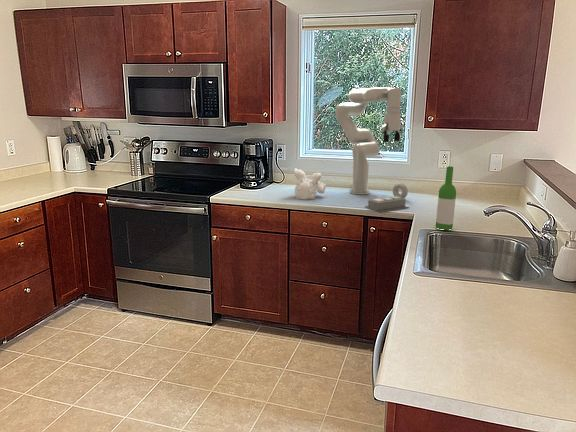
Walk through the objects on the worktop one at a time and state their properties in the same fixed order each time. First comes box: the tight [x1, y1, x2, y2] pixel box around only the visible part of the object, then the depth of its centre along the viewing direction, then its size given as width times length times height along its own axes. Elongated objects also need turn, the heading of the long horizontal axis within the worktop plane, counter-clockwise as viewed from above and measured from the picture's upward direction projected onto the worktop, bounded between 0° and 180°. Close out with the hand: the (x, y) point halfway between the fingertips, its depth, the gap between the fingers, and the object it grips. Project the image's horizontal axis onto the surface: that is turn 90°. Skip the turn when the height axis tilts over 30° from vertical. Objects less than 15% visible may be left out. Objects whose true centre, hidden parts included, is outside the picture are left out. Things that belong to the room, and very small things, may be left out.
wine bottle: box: [435, 165, 457, 230], centre depth 226 cm, size 8×8×30 cm
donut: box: [392, 182, 409, 199], centre depth 289 cm, size 10×4×10 cm, turn 43°
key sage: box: [389, 195, 401, 200], centre depth 272 cm, size 4×4×3 cm
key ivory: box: [372, 198, 384, 203], centre depth 266 cm, size 4×4×3 cm
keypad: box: [363, 196, 410, 214], centre depth 269 cm, size 14×20×5 cm
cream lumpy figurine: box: [293, 167, 327, 201], centre depth 292 cm, size 19×20×20 cm
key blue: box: [381, 196, 393, 201], centre depth 269 cm, size 4×4×3 cm
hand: (391, 141), depth 276 cm, fingers open, 9 cm apart
